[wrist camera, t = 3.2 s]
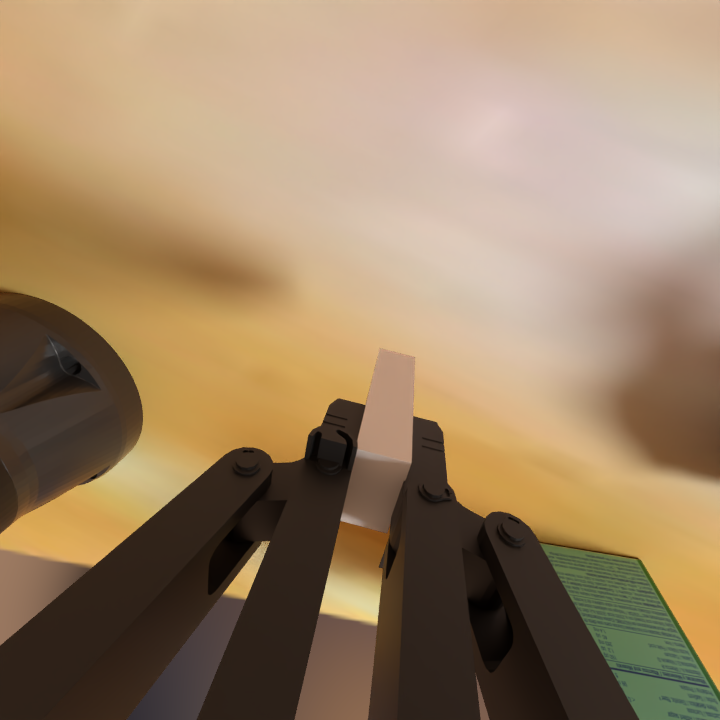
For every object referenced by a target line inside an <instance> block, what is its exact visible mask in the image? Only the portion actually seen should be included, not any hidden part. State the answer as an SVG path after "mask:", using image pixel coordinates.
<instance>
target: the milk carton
mask: <svg viewBox="0 0 720 720" xmlns="http://www.w3.org/2000/svg"><path fill="white" fill-rule="evenodd" d="M540 545H541V546H542V548H543V550H544V552H545V554H546V555H547V557H548V559H549V561H550V562H551V564H552V566H553V568H554V569H555V571H556V573H557V575H558V577H559V578H560V580H561V582H562V584H563V585H564V587H565V589H566V591H567V592H568V594H569V596H570V598H571V600H572V601H573V603H574V605H575V607H576V608H577V610H578V612H579V614H580V615H581V617H582V619H583V621H584V622H585V624H586V626H587V628H588V630H589V631H590V633H591V635H592V637H593V638H594V640H595V642H596V644H597V645H598V647H599V649H600V651H601V653H602V654H603V656H604V658H605V660H606V661H607V663H608V665H609V667H610V668H611V670H612V672H613V674H614V676H615V677H616V679H617V681H618V683H619V684H620V686H621V688H622V690H623V691H624V693H625V695H626V697H627V698H628V700H629V702H630V704H631V706H632V707H633V709H634V711H635V713H636V714H637V716H638V718H639V720H720V692H719V690H718V689H717V687H716V685H715V684H714V682H713V680H712V679H711V677H710V675H709V674H708V672H707V670H706V669H705V667H704V665H703V664H702V662H701V660H700V658H699V657H698V655H697V653H696V652H695V650H694V648H693V647H692V645H691V643H690V642H689V640H688V638H687V637H686V635H685V633H684V632H683V630H682V628H681V627H680V625H679V623H678V621H677V620H676V618H675V616H674V615H673V613H672V611H671V610H670V608H669V606H668V605H667V603H666V601H665V600H664V598H663V596H662V595H661V593H660V591H659V590H658V588H657V586H656V585H655V583H654V581H653V579H652V578H651V576H650V574H649V573H648V571H647V569H646V568H645V566H644V564H643V563H642V561H641V560H639V559H633V558H627V557H621V556H615V555H609V554H603V553H597V552H591V551H585V550H579V549H573V548H567V547H561V546H555V545H549V544H543V543H540Z"/></svg>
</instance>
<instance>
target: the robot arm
mask: <svg viewBox="0 0 720 720" xmlns="http://www.w3.org/2000/svg"><path fill="white" fill-rule="evenodd" d="M414 369H415V357H412V356H408V355H404V354H400V353H396V352H392V351H388V350H384V349H379V353H378V357H377V361H376V365H375V369H374V373H373V377H372V381H371V385H370V389H369V393H368V397H367V401H366V405H363V404H359V403H355V402H351V401H347V400H343V399H339V398H338V399H337V400H336V401H334V402H333V403H331V404H330V405H329V408H328V410H327V413H326V415H325V418H324V420H323V423H322V425H321V426H319V427H317V428H315V429H313V430H312V431H311V433H310V434H309V435H308V441H307V447H306V452H305V458H303V459H301V460H299V461H295V462H290V463H273V461H272V459H271V458H270V456H269V455H268V454H267V453H265V452H264V451H262V450H260V449H256V448H247V447H243V448H239V449H235V450H232V451H231V452H229V453H227V454H226V455H224V456H223V457H222V458H221V459H220V460H218V461H217V462H216V463H215V464H214V465H213V466H211V467H210V468H209V469H208V470H207V471H205V472H204V473H203V474H202V475H201V476H200V477H198V478H197V479H196V480H195V481H194V482H193V483H191V484H190V485H189V486H188V487H187V488H185V489H184V490H183V491H182V492H181V493H180V494H178V495H177V496H176V497H175V498H174V499H172V500H171V501H170V502H169V503H168V504H167V505H165V506H164V507H163V508H162V509H161V510H160V511H158V512H157V513H156V514H155V515H154V516H152V517H151V518H150V519H149V520H148V521H147V522H145V523H144V524H143V525H142V526H141V527H139V528H138V529H137V530H136V531H135V532H134V533H132V534H131V535H130V536H129V537H128V538H127V539H125V540H124V541H123V542H122V543H121V544H119V545H118V546H117V547H116V548H115V549H114V550H112V551H111V552H110V553H109V554H108V555H106V556H105V557H104V558H103V559H102V560H101V561H99V562H98V563H97V564H96V565H95V566H94V567H92V568H91V569H90V570H89V571H88V572H86V573H85V574H84V575H83V576H82V577H81V578H80V579H78V580H77V581H76V582H75V583H73V584H72V585H71V586H70V587H69V588H68V589H66V590H65V591H64V592H63V593H62V594H61V595H59V596H58V597H57V598H56V599H55V600H54V601H52V602H51V603H50V604H49V605H48V606H46V607H45V608H44V609H43V610H42V611H41V612H39V613H38V614H37V615H36V616H35V617H33V618H32V619H31V620H30V621H29V622H28V623H26V624H25V625H24V626H23V627H22V628H21V629H19V631H17V632H16V633H15V634H13V635H12V636H11V637H10V638H9V639H8V640H6V641H5V642H4V643H3V644H2V645H1V646H0V720H126V719H127V718H128V717H129V716H130V714H131V713H132V712H133V710H134V709H135V708H136V706H137V705H138V704H139V702H140V701H141V700H142V698H143V697H144V696H145V695H146V693H147V692H148V690H149V689H150V688H151V687H152V685H153V684H154V683H155V681H156V680H157V679H158V678H159V676H160V675H161V674H162V672H163V671H164V670H165V668H166V667H167V666H168V665H169V663H170V662H171V661H172V659H173V658H174V657H175V655H176V654H177V653H178V651H179V650H180V649H181V647H182V646H183V645H184V644H185V642H186V641H187V639H188V638H189V637H190V636H191V634H192V633H193V632H194V631H195V629H196V628H197V627H198V625H199V624H200V623H201V621H202V620H203V619H204V617H205V616H206V615H207V614H208V612H209V611H210V610H211V608H212V607H213V606H214V604H215V603H216V602H217V600H218V599H219V598H220V597H221V595H222V594H223V593H224V591H225V590H226V589H227V587H228V586H229V585H230V583H231V582H232V581H233V580H234V578H235V577H236V576H237V574H238V573H239V572H240V570H241V569H242V568H243V567H244V565H245V564H246V563H247V561H248V560H249V559H250V557H251V556H252V555H253V553H254V552H255V551H256V550H257V548H258V547H259V546H260V544H261V542H262V541H270V543H269V546H268V548H267V551H266V553H265V555H264V558H263V560H262V563H261V565H260V568H259V570H258V572H257V575H256V577H255V580H254V582H253V585H252V587H251V589H250V592H249V594H248V597H247V599H246V602H245V604H244V606H243V609H242V611H241V614H240V616H239V619H238V621H237V624H236V626H235V628H234V631H233V633H232V636H231V638H230V641H229V643H228V645H227V648H226V650H225V652H224V655H223V658H222V660H221V662H220V665H219V667H218V669H217V672H216V674H215V677H214V679H213V682H212V684H211V687H210V689H209V691H208V694H207V696H206V699H205V701H204V704H203V706H202V709H201V711H200V713H199V716H198V718H197V720H294V719H295V714H296V710H297V705H298V701H299V697H300V693H301V689H302V684H303V680H304V676H305V671H306V666H307V663H308V658H309V654H310V649H311V645H312V641H313V637H314V632H315V628H316V624H317V619H318V615H319V611H320V606H321V602H322V598H323V593H324V589H325V585H326V581H327V576H328V572H329V568H330V563H331V559H332V555H333V550H334V546H335V542H336V537H337V533H338V529H339V524H340V521H343V522H347V523H350V524H354V525H358V526H361V527H365V528H369V529H373V530H376V531H380V532H384V533H387V532H388V529H389V527H390V536H389V540H388V542H387V545H386V548H385V551H384V554H383V557H382V559H381V562H380V565H379V568H383V575H382V585H381V595H380V605H379V615H378V625H377V635H376V646H375V655H374V666H373V676H372V687H371V697H370V706H369V716H368V720H480V710H479V701H478V693H477V683H476V676H477V679H478V682H479V685H480V689H481V692H482V695H483V699H484V702H485V706H486V709H487V712H488V716H489V719H490V720H639V718H638V716H637V714H636V713H635V711H634V709H633V707H632V706H631V704H630V702H629V700H628V698H627V697H626V695H625V693H624V691H623V690H622V688H621V686H620V684H619V683H618V681H617V679H616V677H615V676H614V674H613V672H612V670H611V668H610V667H609V665H608V663H607V661H606V660H605V658H604V656H603V654H602V653H601V651H600V649H599V647H598V645H597V644H596V642H595V640H594V638H593V637H592V635H591V633H590V631H589V630H588V628H587V626H586V624H585V622H584V621H583V619H582V617H581V615H580V614H579V612H578V610H577V608H576V607H575V605H574V603H573V601H572V600H571V598H570V596H569V594H568V592H567V591H566V589H565V587H564V585H563V584H562V582H561V580H560V578H559V577H558V575H557V573H556V571H555V569H554V568H553V566H552V564H551V562H550V561H549V559H548V557H547V555H546V554H545V552H544V550H543V548H542V546H541V545H540V543H539V541H538V539H537V538H536V536H535V534H534V533H533V532H532V530H531V529H530V528H529V526H527V525H526V524H525V523H524V522H523V521H521V520H520V519H519V518H517V517H515V516H513V515H511V514H509V513H504V512H492V513H490V514H489V515H488V516H486V518H483V517H481V516H479V515H477V514H475V513H473V512H472V511H470V510H468V509H467V508H465V507H463V506H462V505H461V504H460V503H459V502H457V500H456V496H455V493H454V491H453V489H452V488H451V487H450V486H449V485H448V483H447V472H446V461H445V453H444V451H445V450H444V445H443V444H444V439H443V432H442V430H441V429H440V427H439V426H438V424H437V422H433V421H430V420H426V419H422V418H418V417H414V416H413V402H414ZM142 423H143V411H142V404H141V400H140V396H139V393H138V390H137V387H136V385H135V382H134V380H133V378H132V376H131V374H130V372H129V371H128V369H127V367H126V366H125V364H124V363H123V361H122V360H121V359H120V357H119V356H118V355H117V353H116V352H115V351H114V350H113V348H112V347H111V346H110V345H109V344H108V343H107V342H106V341H105V340H104V339H103V338H102V337H101V336H100V335H99V334H98V333H97V332H96V331H94V330H93V329H92V328H91V327H90V326H88V325H87V324H86V323H85V322H83V321H82V320H80V319H79V318H77V317H76V316H74V315H73V314H71V313H69V312H68V311H66V310H64V309H62V308H60V307H58V306H56V305H54V304H52V303H49V302H47V301H44V300H42V299H39V298H35V297H32V296H28V295H23V294H16V293H0V534H1V533H2V532H3V531H4V530H5V529H6V528H8V527H9V526H10V525H11V524H12V523H14V522H15V521H16V520H17V519H18V518H20V517H21V516H23V515H25V514H27V513H29V512H31V511H33V510H35V509H37V508H38V507H40V506H42V505H44V504H46V503H48V502H50V501H51V500H53V499H55V498H57V497H59V496H60V495H62V494H63V493H65V492H67V491H69V490H70V489H72V488H74V487H76V486H77V485H82V484H86V483H89V482H91V481H93V480H95V479H97V478H99V477H101V476H103V475H104V474H106V473H107V472H108V471H110V470H111V469H112V468H113V467H114V466H115V465H116V464H117V463H118V462H120V461H121V460H122V459H123V458H124V457H125V456H126V455H127V454H128V453H129V452H130V451H131V450H132V449H133V447H134V446H135V444H136V443H137V441H138V439H139V436H140V433H141V430H142ZM390 524H391V525H390ZM475 672H476V674H475Z"/></svg>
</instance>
